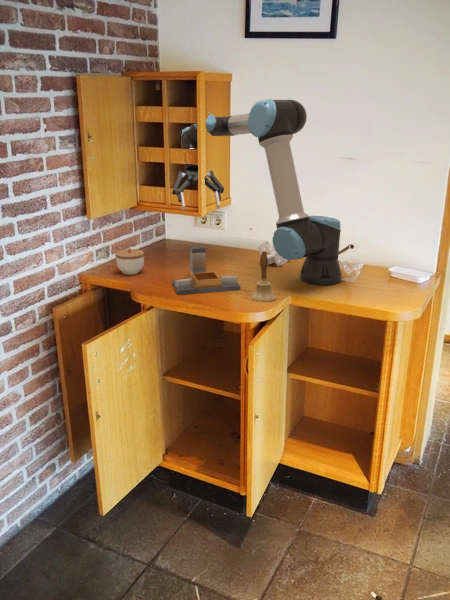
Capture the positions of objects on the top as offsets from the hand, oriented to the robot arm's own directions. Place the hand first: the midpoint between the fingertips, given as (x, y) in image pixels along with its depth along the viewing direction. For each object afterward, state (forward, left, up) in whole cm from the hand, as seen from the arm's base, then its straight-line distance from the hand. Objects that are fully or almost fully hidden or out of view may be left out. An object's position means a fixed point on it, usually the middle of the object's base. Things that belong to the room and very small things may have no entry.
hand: (201, 207), depth 215 cm
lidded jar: (+14, +25, -23) cm, 37 cm away
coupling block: (-8, +10, -23) cm, 26 cm away
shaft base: (-19, +18, -23) cm, 35 cm away
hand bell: (-41, +13, -23) cm, 49 cm away
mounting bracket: (-18, -23, -23) cm, 38 cm away
